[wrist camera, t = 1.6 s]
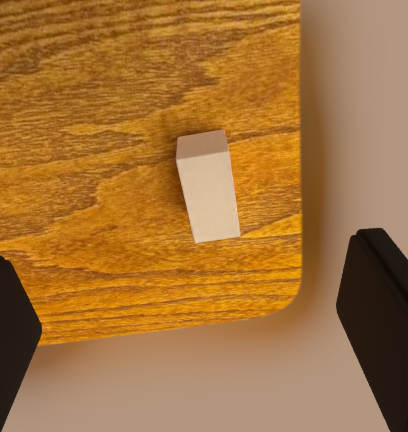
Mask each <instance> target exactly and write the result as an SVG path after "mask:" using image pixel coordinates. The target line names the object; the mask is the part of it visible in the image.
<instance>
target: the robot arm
mask: <svg viewBox="0 0 408 432" xmlns="http://www.w3.org/2000/svg"><path fill="white" fill-rule="evenodd" d="M336 308H337V314H338V316H339V318H340V321H341V323H342V325H343V328H344V330H345V332H346V334H347V337H348V339H349V341H350V343H351V345H352V347H353V350H354V352H355V354H356V356H357V359H358V361H359V363H360V366H361V368H362V370H363V372H364V374H365V377H366V379H367V381H368V383H369V386H370V388H371V390H372V392H373V394H374V397H375V399H376V401H377V403H378V405H379V408H380V410H381V412H382V415H383V417H384V419H385V420H386V423H387V425H388V428H389V430H390V432H408V260H407V258H406V257H405V256H404V254H403V253H402V252H401V251H400V249H399V248H398V247H397V245H396V244H395V243H394V242H393V241H392V239H391V238H390V237H389V235H388V234H387V233H386V232H385V230H383V229H382V228H372V229H360V230H358V231H357V233H356V235H352V236H351V237H350V241H349V246H348V250H347V255H346V259H345V264H344V269H343V274H342V278H341V283H340V288H339V292H338V297H337V302H336ZM41 334H42V326H41V323H40V321H39V319H38V317H37V315H36V312H35V310H34V308H33V306H32V304H31V302H30V300H29V298H28V296H27V294H26V292H25V290H24V288H23V286H22V284H21V282H20V280H19V278H18V276H17V274H16V272H15V269H14V267H13V265H12V264H11V262H10V261H9V260H5V259H4V257H2V256H0V432H1V431H2V428H3V426H4V424H5V421H6V419H7V416H8V414H9V412H10V409H11V407H12V404H13V402H14V400H15V397H16V395H17V392H18V390H19V388H20V385H21V383H22V380H23V378H24V376H25V373H26V371H27V369H28V366H29V363H30V361H31V359H32V357H33V354H34V352H35V349H36V347H37V345H38V342H39V340H40V337H41Z"/></svg>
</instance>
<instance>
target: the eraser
mask: <svg viewBox="0 0 408 432" xmlns="http://www.w3.org/2000/svg"><path fill="white" fill-rule="evenodd" d="M176 164H177V168H178V173H179V177H180V181H181V186H182V190H183V194H184V199H185V203H186V207H187V212H188V216H189V220H190V225H191V229H192V233H193V238H194V242H195V243H200V242H207V241H213V240H220V239H227V238H233V237H239V236H240V228H239V220H238V213H237V205H236V198H235V190H234V183H233V176H232V168H231V161H230V153H229V148H228V144H227V140H226V136H225V131H224V129H222V130H216V131H210V132H204V133H198V134H193V135H187V136H181V137H178V138H177V151H176Z"/></svg>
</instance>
